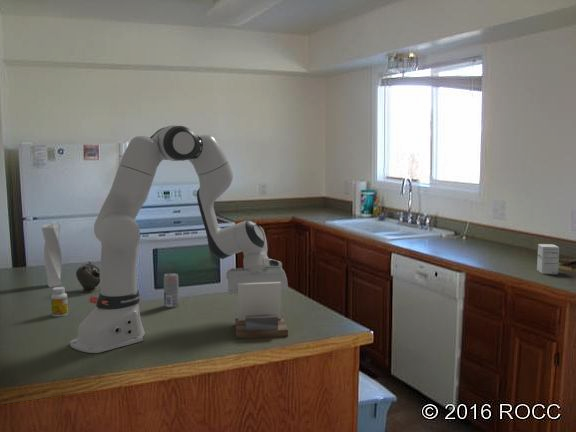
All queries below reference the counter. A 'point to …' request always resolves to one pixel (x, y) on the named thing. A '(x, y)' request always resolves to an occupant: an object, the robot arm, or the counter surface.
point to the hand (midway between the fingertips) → (258, 303)
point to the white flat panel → (259, 299)
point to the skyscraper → (52, 254)
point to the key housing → (261, 326)
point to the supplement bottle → (59, 302)
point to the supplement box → (548, 259)
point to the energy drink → (171, 290)
